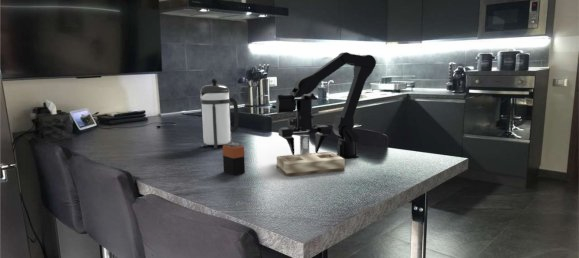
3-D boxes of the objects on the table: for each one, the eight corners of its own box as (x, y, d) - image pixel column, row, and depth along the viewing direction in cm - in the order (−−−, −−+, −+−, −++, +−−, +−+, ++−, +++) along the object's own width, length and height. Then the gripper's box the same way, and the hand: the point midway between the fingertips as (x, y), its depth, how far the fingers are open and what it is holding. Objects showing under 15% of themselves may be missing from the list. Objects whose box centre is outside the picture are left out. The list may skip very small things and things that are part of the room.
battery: (234, 175, 128) (233, 145, 126) (223, 171, 133) (221, 142, 131) (245, 173, 131) (244, 143, 129) (234, 169, 136) (232, 140, 134)
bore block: (330, 162, 143) (330, 151, 142) (344, 170, 131) (344, 158, 131) (276, 167, 137) (276, 156, 136) (286, 176, 126) (286, 164, 125)
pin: (307, 158, 150) (307, 134, 149) (310, 160, 147) (310, 136, 146) (298, 158, 149) (298, 135, 148) (301, 160, 146) (301, 136, 145)
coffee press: (234, 149, 170) (231, 78, 165) (196, 149, 170) (193, 79, 165) (239, 141, 187) (237, 77, 182) (205, 142, 187) (202, 78, 183)
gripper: (320, 109, 156) (320, 147, 158) (274, 111, 151) (275, 151, 153) (331, 111, 145) (331, 153, 148) (282, 114, 140) (283, 157, 142)
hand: (304, 153), depth 148 cm, fingers open, 9 cm apart
